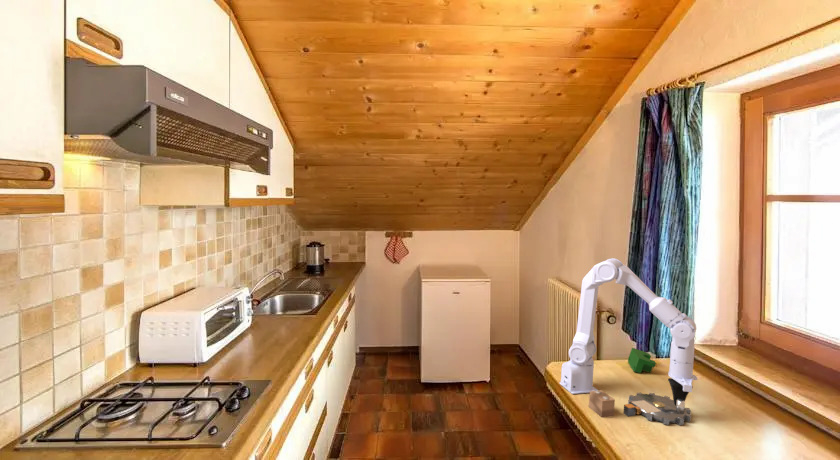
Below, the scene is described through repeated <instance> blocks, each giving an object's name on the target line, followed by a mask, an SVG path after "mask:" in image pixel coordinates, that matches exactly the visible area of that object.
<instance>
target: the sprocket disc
mask: <svg viewBox="0 0 840 460" xmlns="http://www.w3.org/2000/svg"><path fill="white" fill-rule="evenodd" d="M627 404H632V405H634V406H635V407H636V408H635V415H642V416H643V417H645V418H646V420H648V421H651V422H653V421H657V422H661V423H662V424H663V425H667V426H668V425H669V426H670V424H677V425H679V426H682V425H684V423H685V421H686V422H688V423H690V422H691V421H692V414H691V413H692V410H691V409H690V407H685V405H686V400H685V401H684V400H683V399H677V403H676V405H675V404H674V400H673V399H672V398H671V397H670V396H667V395H664V396H663V395H662V396H661V395H658V394H655V392H654V393H653V392H649V393H642V392H636V395H633V394H630V395H629V396H628V401H627Z"/></svg>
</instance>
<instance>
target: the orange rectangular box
mask: <svg viewBox="0 0 840 460" xmlns="http://www.w3.org/2000/svg"><path fill="white" fill-rule="evenodd" d="M635 408H636V407H635V406H634V405H632V404H628V403H626V404H623V414H624V415H625V416H627V417H633V416H634V417H635V416H636V413H635Z"/></svg>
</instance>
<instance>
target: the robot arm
mask: <svg viewBox="0 0 840 460" xmlns="http://www.w3.org/2000/svg"><path fill="white" fill-rule="evenodd" d="M614 280H615V284H619V285H622V286H623V285H624V286H627V287H629V289H631V290H632V291H633V292H634V293H635V294H636V295H637V296H639V297H640V298H641V299H643V301H645V302H646V303H647V304H648V309H649V312H650V313H651V314H653V316H655V317H656V318H657V319H658V320H659V321H660V322H661V323H662V325H664V326H665V327H666V328H669V330H670V334H671V337H672V338H671V342H670V352H669V353H670V354H669V355H670V356H669V357H670V358H669V369H668V373H667V375H668V376H669V378H667V381H668V383H669V385H670V387H671V394H672V398H673V399H672V400H674V404H675V405H676V403H677V399H683V400H684V401H685V402H686V399H687V397H688V394H689V393H693V381H697V380H698V376H697V375H696V374H693V372H694V362H695V361H694V359H695V358H694V357H695V336H696V332H697V324H696V323H695V321H694V320H693V318H692V317H689V316H687V314H686V313H684V312H683V313H682V311H680V309H678V308H677V307H676V306H675V305H674V304H673V303H674V302H673V301H672V299H667V298H666V297H662V296H658V295H657V294H655V292H654V291H652V290H651V289H650V288H649V286H648V285H646V284H645V283H644V282H643V281H642V280H641V279H640V277H639V276H638V275H637V274H635V273H634V272H633V271H632V270H631V268H629V266H628V265H626V264H623V262H622V261H621V260H619V259H618V258H614V257H612V258H608V259H606V260H603V261H601V262H599V263H596V264H595V265H594V266H592V267H591V269H590V270H589V272H588V273H586V275H585V276H584V277H583V278H582V281H581V288H580V289H581V290H580V299H579V306H578V307H579V308H578V317H577V324H576V325H577V326H576V333H575V334H574V337H573V340H572V343H571V344H572V345H571V346H570V348H569V350H568V357H569V359H570V360H568V361H566V362H563V363H562V365H561V368H560V370H561V376H560V381H559V384H560V385H561V387H563V388H564V389H566V390H567V391H568V392H569V393H570V394H572V395H576V394H577V395H579V394H588V393H589V394H590V391H599V390H598V389H597V388H596V387H594V385H593V383H594V364H595V360H594V359H593V356H594V355H595V354H596V352H597V347H596V343H595V335H594V329H595V320H596V313H597V306H598V305H597V303H598V296H599V288H600V286H601V285H604V284H606V283H610V282H612V281H614Z"/></svg>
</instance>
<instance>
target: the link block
mask: <svg viewBox="0 0 840 460" xmlns="http://www.w3.org/2000/svg"><path fill="white" fill-rule="evenodd" d="M588 398H589V399H588V400H589V401H588V408H589V409H591V410H592V411H593V412H594V413H595V414H597V415H598V416H599V417H601V418H608V417H609V418H610V417H611V418H612V417H614V416H615V402H616V400H615V398H613V397H611V395H609V394H608V393H606V392H605V391H603V390H598V391H590V393H589V397H588Z"/></svg>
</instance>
